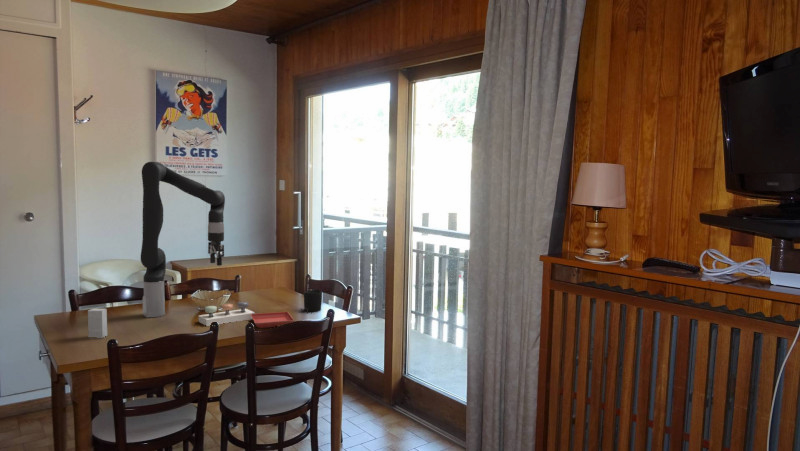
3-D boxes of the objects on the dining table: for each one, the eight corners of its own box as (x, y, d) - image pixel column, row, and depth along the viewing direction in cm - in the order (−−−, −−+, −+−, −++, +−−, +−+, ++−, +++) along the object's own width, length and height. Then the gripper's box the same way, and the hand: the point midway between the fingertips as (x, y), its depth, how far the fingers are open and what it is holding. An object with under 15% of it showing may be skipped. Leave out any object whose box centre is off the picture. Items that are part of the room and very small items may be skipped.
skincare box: (107, 335, 239) (107, 308, 238) (102, 338, 235) (102, 310, 234) (93, 335, 239) (92, 308, 238) (88, 338, 235) (87, 310, 234)
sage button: (207, 319, 260) (207, 308, 259) (203, 317, 264) (203, 306, 263) (218, 318, 263) (218, 307, 263) (214, 315, 267) (214, 305, 267)
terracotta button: (224, 317, 265) (224, 306, 264) (219, 314, 269) (219, 304, 268) (234, 315, 268) (234, 305, 268) (230, 313, 272) (230, 303, 272)
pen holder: (302, 308, 296) (302, 289, 295) (320, 307, 298) (320, 289, 297) (304, 312, 287) (304, 293, 286) (322, 311, 289) (323, 292, 288)
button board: (206, 326, 257) (206, 320, 257) (198, 321, 265) (198, 315, 265) (255, 318, 273) (255, 312, 272) (246, 314, 280) (246, 308, 280)
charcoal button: (240, 314, 270) (240, 304, 270) (235, 312, 274) (235, 302, 274) (250, 313, 273) (250, 303, 273) (245, 311, 277) (245, 301, 277)
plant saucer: (250, 320, 271) (250, 313, 271) (287, 317, 278) (287, 311, 277) (255, 330, 254) (255, 323, 254) (294, 327, 261) (294, 320, 261)
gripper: (202, 230, 276) (203, 262, 277) (214, 233, 265) (214, 267, 266) (217, 229, 281) (217, 261, 282) (229, 232, 270) (229, 265, 271)
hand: (216, 264), depth 274 cm, fingers open, 8 cm apart
